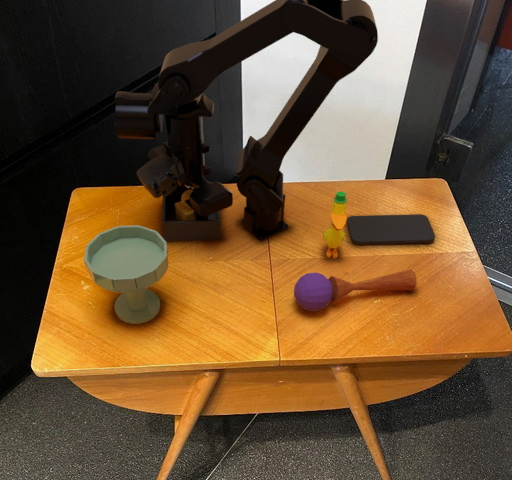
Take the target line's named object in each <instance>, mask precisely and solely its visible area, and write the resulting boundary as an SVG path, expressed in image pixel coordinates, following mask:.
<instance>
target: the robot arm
mask: <svg viewBox="0 0 512 480" xmlns="http://www.w3.org/2000/svg"><path fill="white" fill-rule="evenodd" d="M293 33H294V34H298V35H300V36H303V37H305V38H306V39H309V40H310V41H312V42H314V43H315V44H316V45H319V49H318V52H317V54H316V56H315V59H314V60H313V62H312V64H311V65H310V67H309V68H308V69H307V71H306V73H305V74H304V75H303V77H302V79H301V80H300V82H299V83H298V85H297V87H295V89H294V91H293V93H292V94H291V95H290V97H289V99H288V100H287V102H286V103H285V105H284V106H283V107H282V109H281V111H280V112H279V113H278V115H277V117H276V118H275V120H274V121H273V122H272V124H271V126H270V127H269V128H268V130H267V132H266V133H265V134H264V135H263V136H262V137H260V138H259V139H256V138H255V137H254V136H252V135H249V136H248V139H247V142H246V143H245V146H244V147H243V148H242V149H241V150H240V151H238V155H237V163H236V164H237V166H236V173H235V175H236V176H237V178H236V188H237V191H238V192H239V193H240V195H241V196H243V197H245V206H244V208H243V218H241V219H240V223H241V224H242V225H243V227H245V229H247V231H249V232H250V233H251V234H252V235H254V236H255V238H256V239H258V240H259V241H264V240H266V239H268V238H270V237H272V236H275V235H277V234H279V233H282V232H284V231H286V230H288V229H289V228H290V227H289V226H290V225H289V224H288V223H287V222H286V221H284V220H285V219H284V218H285V203H286V194H285V193H284V173H283V172H282V171H281V166H282V164H283V160H284V158H285V156H286V154H287V153H288V152H289V150H290V149H291V148H292V146H293V145H294V143H296V141H297V139H298V138H299V136H300V135H301V134H302V133H303V131H304V130H305V128H306V127H307V125H308V124H309V123H310V121H311V120H312V118H313V117H314V115H316V113H317V111H318V110H319V108H320V107H321V106H322V104H323V103H324V102H325V100H326V98H327V97H328V96H329V95H330V93H331V92H332V90H333V88H334V87H335V86H336V84H338V83H339V81H341V80H342V79H345V78H346V77H348V76H349V75H350V74H352V73H354V72H355V71H356V70H357V69H358V68H359V67H360V66H361V65H362V64H363V63H364V62H365V61H366V60H367V59H368V58H369V57H370V56H371V55H373V53H374V51H375V50H376V47H377V45H378V41H379V34H378V33H379V32H378V28H377V24H376V19H375V16H374V11H373V10H372V7H371V6H370V4H368V3H367V1H365V0H274V1H272V2H270V3H269V4H267V5H265V6H263V7H262V8H260V9H259V10H256V11H255V12H254V13H252V14H250V15H248V16H247V17H245V18H243V19H242V20H240V21H238V22H237V23H235V24H234V25H232V26H230V27H228V28H227V29H225V30H224V31H222V32H220V33H219V34H216V35H215V36H214V37H211V38H210V39H207V40H202V41H195V42H190V43H187V44H185V45H182V46H179V47H176V48H174V49H172V50H170V51H169V52H168V53H167V54H166V55H165V57H164V59H163V62H162V65H161V69H160V71H159V75H158V77H157V78H158V79H157V83H155V84H154V87H153V89H152V93H141V92H140V93H139V92H129V91H123V90H121V91H120V90H118V91H117V92H116V93H115V96H114V103H115V109H114V120H115V121H114V129H115V133H116V136H117V138H118V139H125V140H126V139H129V140H154V141H155V140H156V139H157V138H158V134H162V133H163V131H164V123H165V129H166V139H167V141H164V142H162V145H160V146H157V147H154V148H151V149H150V150H149V152H148V153H147V162H146V163H145V164H144V165H143V166H141V167H139V169H137V171H136V176H137V178H138V180H139V181H140V182H141V184H142V186H143V187H144V188H145V190H147V192H148V193H149V194H150V195H151V197H153V198H155V199H159V198H161V197H163V196H164V197H166V196H168V195H169V194H171V193H172V192H174V195H175V197H176V199H177V201H178V202H180V201H181V197H182V194H183V193H184V192H185V191H187V190H191V188H194V190H193V191H192V193H191V194H190V196H189V199H188V200H185V203H187V204H188V205H189V206H190V207H191V208H192V209H193V212H194V216H195V220H207V218H208V216H209V215H211V214H213V213H215V212H218V211H220V212H221V211H223V210H225V209H228V208H231V207H232V206H233V204H234V200H233V199H234V198H233V197H234V196H233V195H234V193H233V192H232V191H231V190H229V189H228V188H227V187H226V186H225V185H224V184H223V183H221V182H219V181H218V180H215V181H211V182H209V181H208V180H206V178H205V177H206V176H208V175H210V174H211V167H210V166H209V165H207V164H206V157H205V154H206V153H208V152H210V145H209V144H208V143H207V142H205V141H204V140H205V139H204V125H203V123H204V122H203V118H212V117H213V115H214V108H215V102H214V101H212V100H211V99H210V98H208V97H207V96H206V94H205V93H204V92H205V91H206V90H208V88H209V87H210V86H211V84H213V83H214V81H216V79H217V78H218V77H219V76H220V75H222V74H223V73H224V72H226V71H227V70H229V69H231V68H233V67H234V66H236V65H238V64H240V63H242V62H244V61H245V60H247V59H248V58H251V57H252V56H254V55H255V54H258V53H259V52H261V51H263V50H264V49H266V48H268V47H270V46H272V45H273V44H275V43H277V42H278V41H280V40H282V39H284V38H286V37H288V36H289V35H292V34H293Z"/></svg>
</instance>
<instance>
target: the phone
mask: <svg viewBox="0 0 512 480" xmlns="http://www.w3.org/2000/svg"><path fill="white" fill-rule="evenodd" d="M346 225H347V229H348V233H349V237H350V240H351V242H352V243H353V244H355V245H390V244H391V245H396V244H429V243H430V244H431V243H434V241H435V239H436V234H435V232H434V228H433V226H432V224H431V221H430V220H429V217H428V216H426V215H425V214H422V213H421V214H420V213H419V214H418V213H416V214H415V213H414V214H379V215H378V214H377V215H351V216H347V219H346Z"/></svg>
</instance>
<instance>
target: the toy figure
mask: <svg viewBox="0 0 512 480" xmlns="http://www.w3.org/2000/svg"><path fill="white" fill-rule="evenodd" d="M346 197H347V193H346V192H344V191H337V192H336V193H335V196H334V197H333V201H332V207H331V210H330V211H329V213H330V214H329V215H330V224H331V225H330V227H328V228H327V229H326V231H325V230H323V234H322V237H323V238H322V239H323V242H325V243H326V244H327V246H328V248H327V250H326V253H325V256H326V258H327V259H331V257H332V258H333V259H337V257H338V255H339V254H338V251H337V248H338V247H339V246H341V245H342V243H343V242H344V241H345V237H346V236H345V235H346V233H345V232H344V231H343V229H345V226H346V225H347V219H348V216H347V215H348V214H347V211H346V208H347V204H348V203H347V202H348V199H347V198H346ZM331 249H332V250H331Z"/></svg>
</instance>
